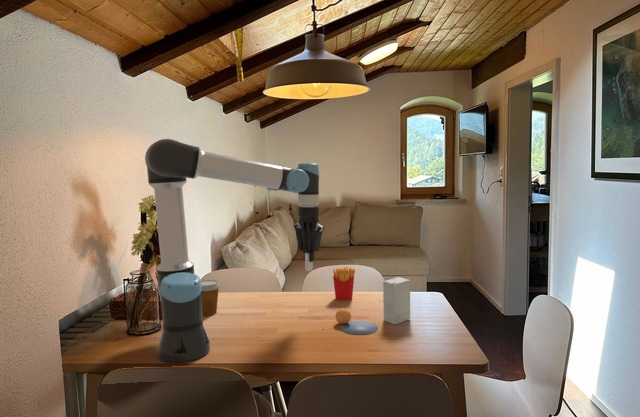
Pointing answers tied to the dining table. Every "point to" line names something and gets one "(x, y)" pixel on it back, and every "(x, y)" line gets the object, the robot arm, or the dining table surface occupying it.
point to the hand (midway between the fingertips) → (309, 270)
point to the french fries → (343, 283)
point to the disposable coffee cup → (209, 296)
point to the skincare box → (396, 300)
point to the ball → (343, 316)
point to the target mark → (359, 327)
